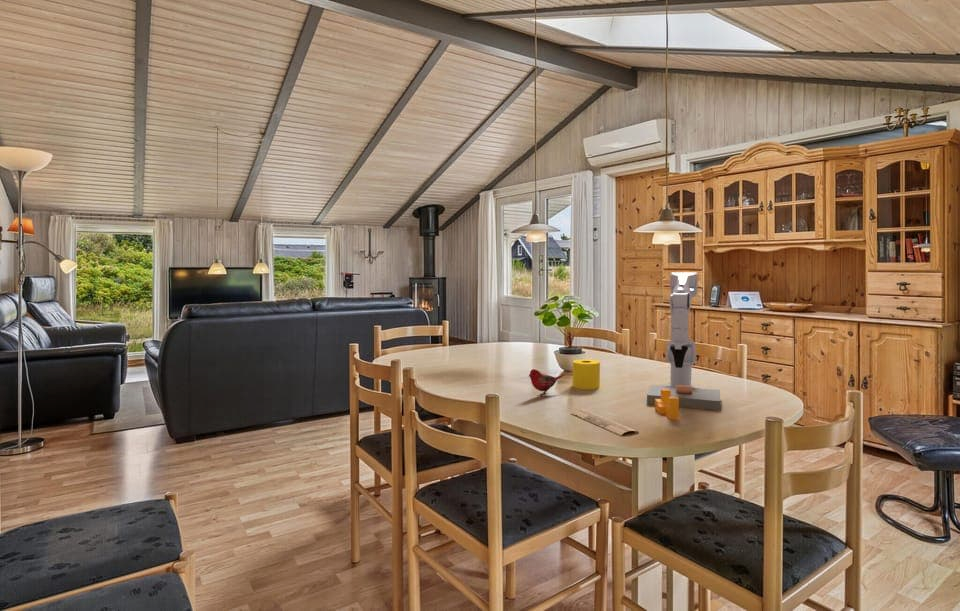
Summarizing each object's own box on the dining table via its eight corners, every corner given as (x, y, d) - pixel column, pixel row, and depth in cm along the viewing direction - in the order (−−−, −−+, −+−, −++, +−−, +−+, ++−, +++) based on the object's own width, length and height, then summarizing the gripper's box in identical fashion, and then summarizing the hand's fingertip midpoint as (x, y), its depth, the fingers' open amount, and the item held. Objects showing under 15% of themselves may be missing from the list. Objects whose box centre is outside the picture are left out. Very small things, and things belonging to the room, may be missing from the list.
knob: (676, 397, 182) (676, 384, 181) (692, 399, 180) (692, 385, 179) (675, 401, 177) (675, 387, 177) (691, 402, 175) (691, 388, 175)
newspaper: (638, 435, 146) (638, 429, 146) (617, 439, 143) (617, 432, 143) (587, 413, 167) (587, 408, 167) (568, 416, 164) (568, 411, 164)
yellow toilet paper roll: (583, 382, 209) (583, 358, 208) (604, 386, 201) (605, 361, 201) (567, 386, 202) (567, 361, 201) (589, 390, 195) (589, 365, 194)
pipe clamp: (654, 408, 170) (655, 388, 170) (668, 409, 170) (669, 389, 169) (663, 419, 159) (663, 398, 158) (678, 419, 158) (678, 398, 158)
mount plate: (651, 392, 190) (652, 384, 190) (719, 398, 182) (719, 389, 181) (646, 403, 176) (647, 394, 175) (720, 410, 167) (720, 401, 167)
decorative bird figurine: (525, 397, 185) (525, 369, 184) (561, 390, 196) (561, 363, 195) (531, 399, 183) (531, 370, 182) (567, 391, 193) (567, 364, 193)
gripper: (691, 330, 174) (690, 372, 175) (693, 326, 187) (692, 364, 188) (668, 329, 177) (667, 370, 178) (671, 325, 190) (670, 363, 191)
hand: (678, 367), depth 183 cm, fingers closed
